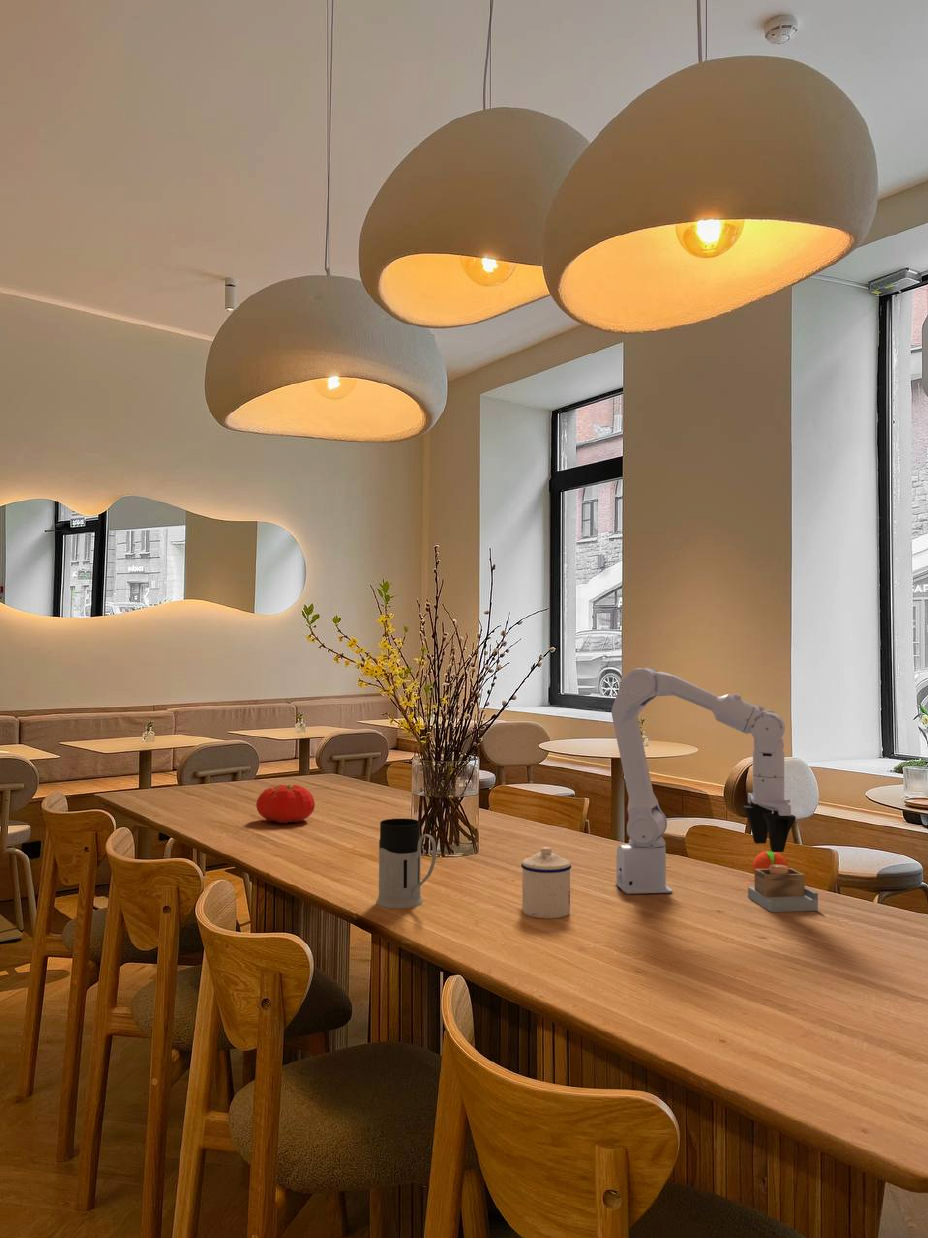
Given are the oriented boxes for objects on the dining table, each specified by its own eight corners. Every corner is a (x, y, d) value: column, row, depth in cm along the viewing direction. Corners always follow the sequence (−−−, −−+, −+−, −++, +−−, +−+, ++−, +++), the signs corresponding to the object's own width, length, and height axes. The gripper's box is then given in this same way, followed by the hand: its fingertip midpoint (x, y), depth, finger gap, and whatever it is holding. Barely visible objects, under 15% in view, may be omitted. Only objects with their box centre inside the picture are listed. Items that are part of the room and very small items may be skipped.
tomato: (265, 816, 261) (265, 782, 262) (321, 818, 260) (321, 783, 260) (248, 826, 247) (249, 789, 248) (307, 827, 246) (307, 790, 246)
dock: (770, 911, 166) (770, 894, 167) (748, 897, 176) (747, 880, 176) (817, 910, 167) (817, 892, 168) (792, 896, 177) (792, 879, 177)
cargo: (772, 878, 170) (772, 867, 170) (767, 875, 174) (767, 864, 174) (790, 878, 170) (789, 867, 170) (784, 875, 173) (784, 864, 174)
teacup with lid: (581, 915, 164) (581, 850, 164) (538, 922, 159) (538, 855, 160) (544, 899, 174) (544, 838, 175) (503, 905, 170) (503, 842, 171)
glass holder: (402, 893, 178) (402, 816, 179) (452, 907, 168) (452, 826, 169) (366, 901, 172) (367, 821, 173) (416, 917, 162) (417, 832, 163)
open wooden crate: (766, 897, 169) (765, 875, 169) (754, 890, 174) (754, 868, 174) (804, 896, 170) (804, 874, 170) (792, 889, 175) (792, 868, 175)
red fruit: (791, 891, 181) (791, 855, 181) (755, 890, 182) (754, 854, 182) (785, 882, 188) (785, 847, 189) (750, 880, 190) (750, 845, 190)
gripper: (806, 780, 167) (806, 855, 167) (771, 770, 182) (772, 839, 181) (769, 781, 167) (769, 856, 166) (737, 770, 181) (737, 839, 181)
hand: (768, 847), depth 174 cm, fingers open, 7 cm apart
